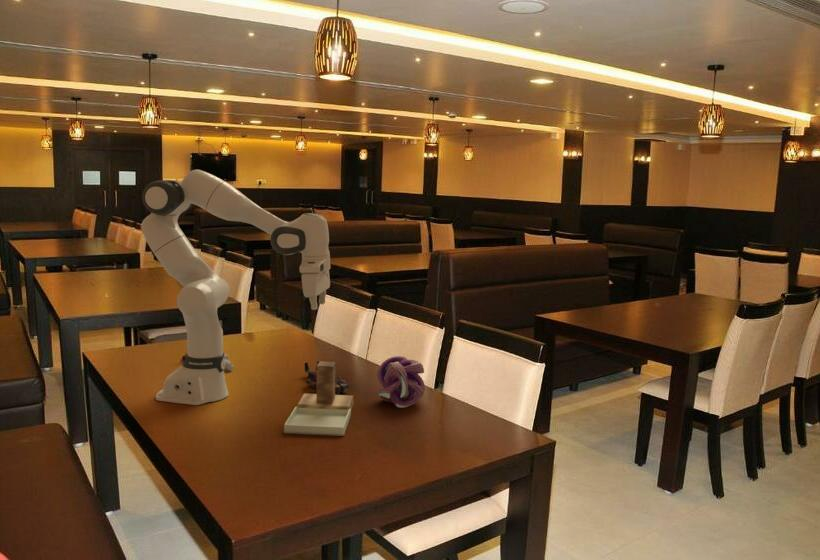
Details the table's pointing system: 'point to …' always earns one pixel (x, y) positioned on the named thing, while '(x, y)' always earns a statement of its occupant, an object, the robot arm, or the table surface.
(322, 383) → the walnut block
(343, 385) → the figurine
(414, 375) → the sculpture
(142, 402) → the table surface
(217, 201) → the robot arm
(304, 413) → the tray
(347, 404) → the oak board
